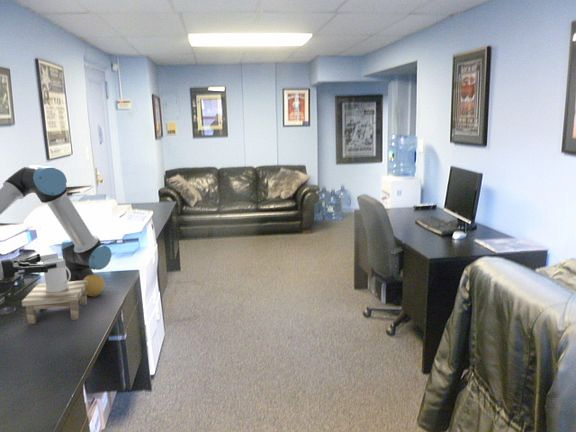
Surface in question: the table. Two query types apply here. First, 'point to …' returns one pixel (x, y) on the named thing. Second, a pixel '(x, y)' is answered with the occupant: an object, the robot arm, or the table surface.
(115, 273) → the table surface
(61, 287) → the mug
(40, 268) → the robot arm
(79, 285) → the footstool
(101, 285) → the stress ball
